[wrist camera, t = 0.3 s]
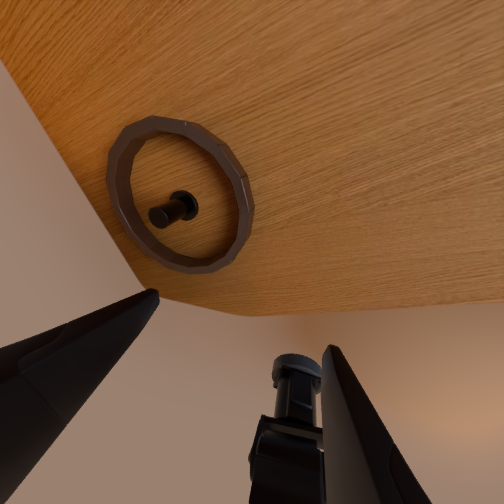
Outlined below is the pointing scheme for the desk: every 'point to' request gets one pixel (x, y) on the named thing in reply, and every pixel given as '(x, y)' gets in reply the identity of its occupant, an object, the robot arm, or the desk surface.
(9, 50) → the desk surface
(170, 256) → the hoop
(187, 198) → the peg stand
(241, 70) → the desk surface
